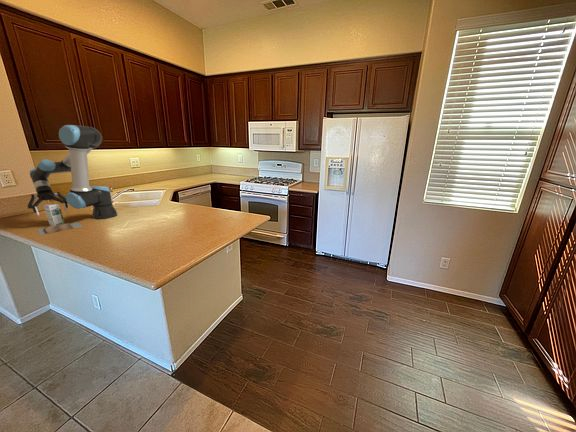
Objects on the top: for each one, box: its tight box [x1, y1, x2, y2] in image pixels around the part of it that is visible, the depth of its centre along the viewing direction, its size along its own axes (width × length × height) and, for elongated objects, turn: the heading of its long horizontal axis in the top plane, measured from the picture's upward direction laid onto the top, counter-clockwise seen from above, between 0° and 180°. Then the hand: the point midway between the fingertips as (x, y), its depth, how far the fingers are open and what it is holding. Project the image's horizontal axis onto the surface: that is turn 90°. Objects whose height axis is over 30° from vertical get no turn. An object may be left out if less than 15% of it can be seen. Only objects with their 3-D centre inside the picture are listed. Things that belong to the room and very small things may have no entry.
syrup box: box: [43, 202, 65, 226], centre depth 158 cm, size 6×6×14 cm
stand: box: [43, 222, 74, 234], centre depth 152 cm, size 12×12×1 cm
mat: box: [37, 221, 84, 236], centre depth 154 cm, size 20×14×1 cm
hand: (53, 213), depth 158 cm, fingers open, 13 cm apart
